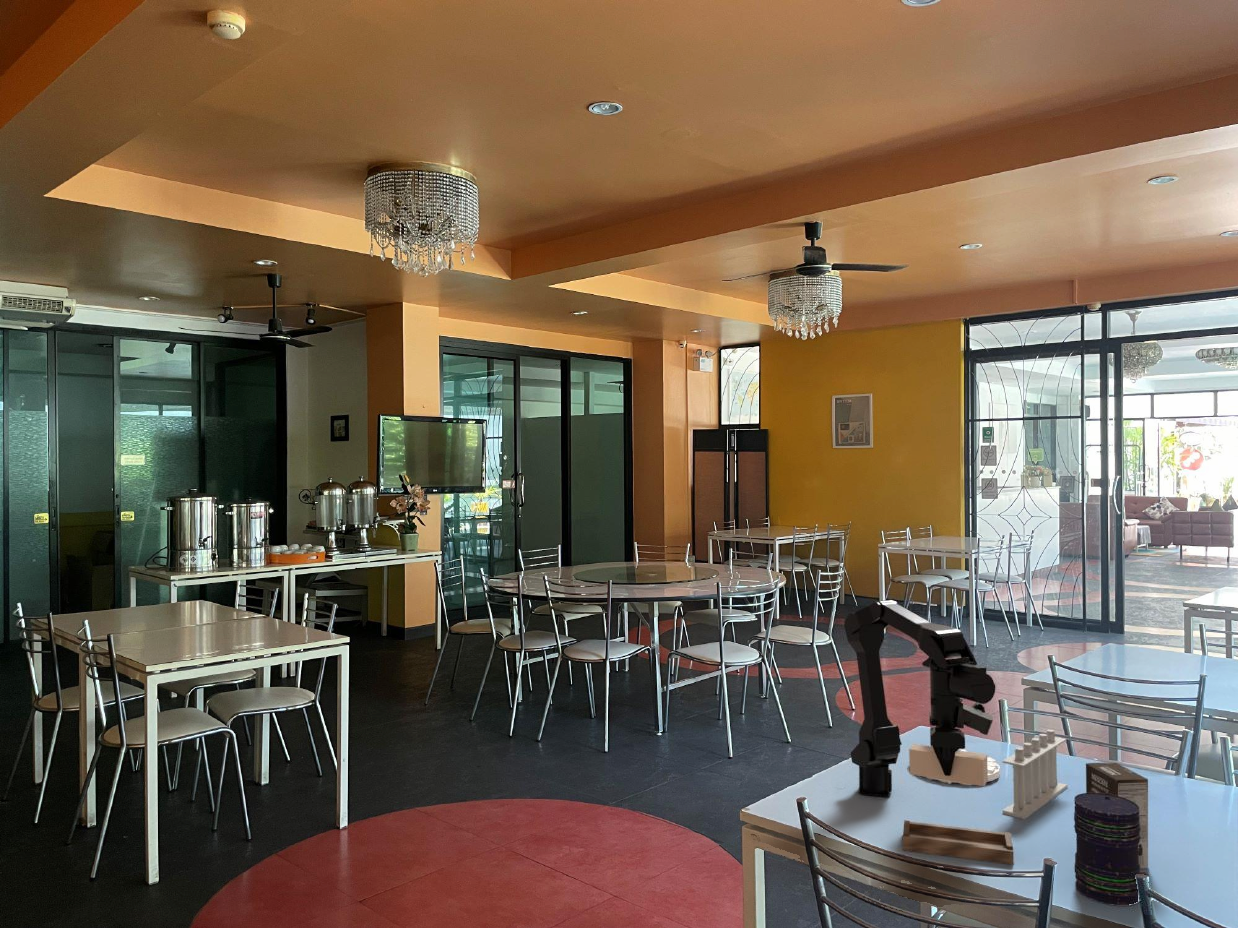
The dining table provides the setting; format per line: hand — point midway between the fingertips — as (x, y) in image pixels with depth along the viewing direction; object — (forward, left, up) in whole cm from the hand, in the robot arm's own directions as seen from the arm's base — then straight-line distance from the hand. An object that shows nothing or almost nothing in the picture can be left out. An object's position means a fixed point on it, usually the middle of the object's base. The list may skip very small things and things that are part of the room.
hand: (947, 771), depth 176 cm
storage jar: (+25, -19, -12) cm, 34 cm away
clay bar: (0, 0, -1) cm, 1 cm away
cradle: (+1, -9, -11) cm, 14 cm away
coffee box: (+29, -4, -12) cm, 32 cm away
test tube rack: (+18, +23, -12) cm, 31 cm away
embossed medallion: (+2, +37, -12) cm, 39 cm away
